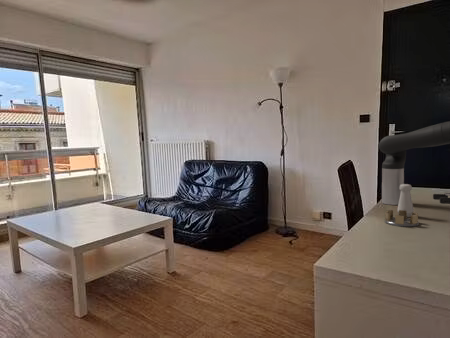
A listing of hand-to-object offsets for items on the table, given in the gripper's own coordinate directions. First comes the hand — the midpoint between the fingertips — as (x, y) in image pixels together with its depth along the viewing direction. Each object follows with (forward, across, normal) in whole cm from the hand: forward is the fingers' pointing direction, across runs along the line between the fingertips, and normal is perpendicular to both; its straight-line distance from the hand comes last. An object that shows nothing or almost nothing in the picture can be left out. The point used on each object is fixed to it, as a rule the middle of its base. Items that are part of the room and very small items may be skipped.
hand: (436, 198), depth 118 cm
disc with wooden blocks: (+14, +12, +8) cm, 20 cm away
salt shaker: (+11, 0, +8) cm, 13 cm away
